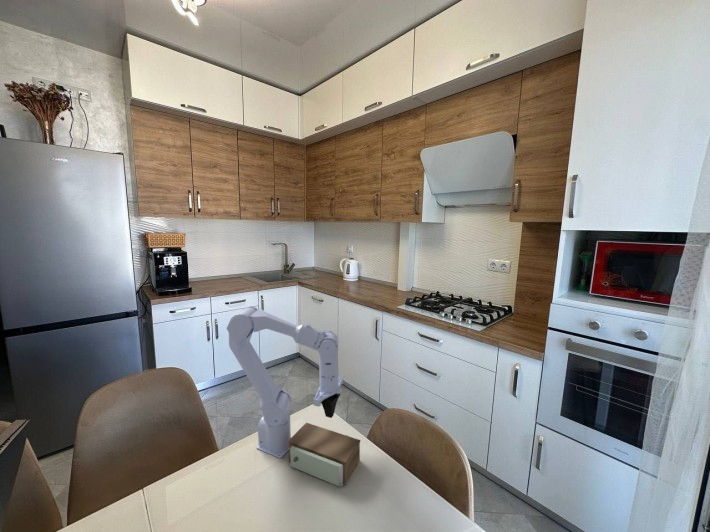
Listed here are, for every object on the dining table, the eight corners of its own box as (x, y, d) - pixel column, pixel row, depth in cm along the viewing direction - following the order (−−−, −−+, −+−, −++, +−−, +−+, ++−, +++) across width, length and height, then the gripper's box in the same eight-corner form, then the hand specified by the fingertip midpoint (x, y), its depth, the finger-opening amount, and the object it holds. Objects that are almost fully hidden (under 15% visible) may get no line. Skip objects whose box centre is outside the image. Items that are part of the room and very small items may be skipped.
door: (343, 484, 76) (343, 464, 75) (340, 490, 74) (340, 470, 73) (293, 463, 82) (292, 445, 82) (288, 468, 81) (288, 450, 80)
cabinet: (288, 461, 84) (288, 441, 83) (306, 441, 92) (306, 422, 91) (346, 485, 76) (345, 462, 75) (360, 460, 84) (360, 440, 83)
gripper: (328, 387, 80) (328, 434, 81) (351, 366, 93) (351, 406, 94) (306, 382, 83) (307, 427, 84) (332, 362, 96) (332, 401, 97)
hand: (329, 415), depth 89 cm, fingers closed
